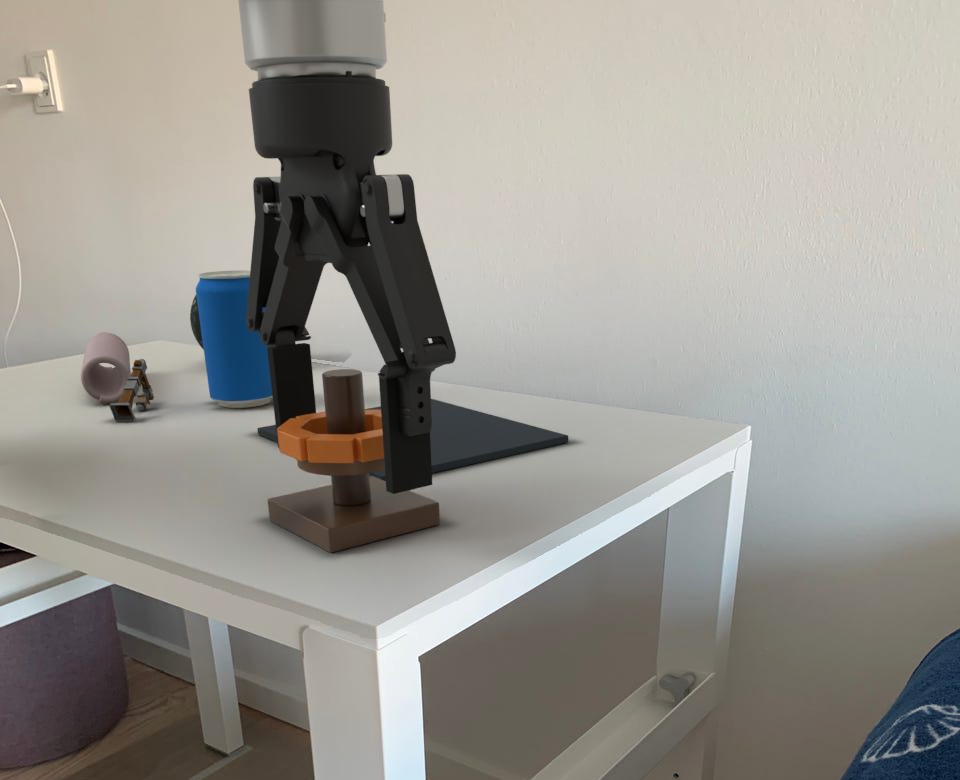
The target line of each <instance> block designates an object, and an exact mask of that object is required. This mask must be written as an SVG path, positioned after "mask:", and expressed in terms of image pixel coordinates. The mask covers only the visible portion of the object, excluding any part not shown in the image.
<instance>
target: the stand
mask: <svg viewBox="0 0 960 780" xmlns="http://www.w3.org/2000/svg"><path fill="white" fill-rule="evenodd" d="M321 376H322V377H321V378H322V389H323V402H324V412H325V413H326V425H327V434H358V433H363V432H366V420H365V409H366V407H365V393H364V380H363V372H362V371H361V370H359V369H353V368H340V369H339V368H338V369H331V370H326V371H324V372H322V374H321ZM296 464H297V467H298V468H299V469H300V470H301V471H303V472H306V473H309V474H313V475H318V476H319V475H320V476H330V481H331V484H328V485H324V486H320V487H315V488H311V489H306V490H301V491H298V492H293V493H288V494H283V495H279V496H274V497H269V498H267V509H268V517H269V521H270V522H271V523H273V524H276V525H277V526H279V527H281V528H283V529H285V530H287V531H289V532H290V533H293V534H295V535H297V536H298V537H300V538H301V539H304V540H306V541H308V542H309V543H311V544H314V545H315V546H318V547H319V548H321V549H323V550H325V551H327V552H328V553H330V554H331V553H335V552H339V551H343V550H347V549H351V548H354V547H358V546H361V545H362V546H363V545H366V544H370V543H373V542H377V541H382V540H385V539H388V538H392V537H397V536H400V535H404V534H408V533H412V532H415V531H419V530H423V529H428V528H431V527H435V526H439V525H440V524H441V519H440V515H441V514H440V502H439V501H436V500H434V499H431V498H429V497H426V496H424V495H421V494H419V493H416V492H414V491H412V490H408V491H404V492H400V493H396V494H392V493H390V492H387V491H386V481H384V480H381V479H378V478H376V477H373V476H369V473H374V472H379V471H383V470H385V462H384V458H383V459H378V460H373V461H368V462H364V463H363V462H360V461H357V460H356V461H355V462H354V463H309V461H308V460H307V461H299V460H297V459H296Z"/></svg>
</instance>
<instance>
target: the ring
mask: <svg viewBox="0 0 960 780" xmlns="http://www.w3.org/2000/svg"><path fill="white" fill-rule="evenodd" d="M365 420H366V432H363V433H358V434H327V425H326V413H325V411H319V412H316V413H313V414H307V415H301V416H296V418H290V419H289V420H288V421H286V422H285V423H284V424H282V425H281V426H280V427H278V428H277V434H278V442H277V444H278V443H279V448H278V450H279V453H280V454H282V455H285V456H288V457H290V458H292V459H294V460H296V461H297V460H299V461H307V460H308V461H309V463H354V462H355V461H356V460H357V461H360V462H363V463H364V462H368V461H373V460H378V459H383V458H384V447H383V431H382V416H381V410H365Z"/></svg>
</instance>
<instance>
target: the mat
mask: <svg viewBox="0 0 960 780" xmlns="http://www.w3.org/2000/svg"><path fill="white" fill-rule="evenodd" d="M365 410H381V405H379V406H374V407H369V408H365ZM431 414H432V426H431V431H430V443H431V465H432V474H435V473H439V472H443V471H447V470H452V469H455V468H456V469H457V468H461V467H466V466H470V465H474V464H479V463H482V462H488V461H492V460H496V459H500V458H505V457H510V456H514V455H517V454H523V453H528V452H533V451H536V450H541V449H545V448H549V447H554V446H559V445H562V444H567V443H569V435H568V434H565V433H561V432H557V431H553V430H550V429H546V428H542V427H538V426H534V425H531V424H527V423H523V422H520V421H516V420H512V419H509V418H505V417H501V416H498V415H493V414H491V413H488V412H487V413H486V412H483V411H479V410H475V409H471V408H468V407H464V406H460V405H456V404H453V403H449V402H445V401H441V400H437V399H434V398H431ZM256 429H257V435H259V436H261V437H264V438H266V439H269V440H271V441H274V442H276V443H278V441H277V432H276V424H272V425H266V426H261V427H257V428H256ZM369 476H373V477H376V478H378V479H381V480H384V481H386V477H385V470H383V471H379V472H374V473H369Z"/></svg>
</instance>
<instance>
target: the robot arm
mask: <svg viewBox="0 0 960 780" xmlns="http://www.w3.org/2000/svg"><path fill="white" fill-rule="evenodd" d="M384 9H385V7H384V0H238V10H239V17H240V18H239V19H240V30H241V37H242V46H243V47H242V48H243V55H244V56H243V57H244V64H245V65H246V66H247V67H248V68H249V69H250V70H251V71H255V72H257V80H256V81H253V82H252V83H251V88H248V96H249V106H250V114H251V115H250V116H251V124H252V132H253V141H254V143H253V144H254V149H255V152H256V153H257V154H258V155H259V156H260V157H262V158H264V159H272V160H275V159H278V161H279V163H280V176H258V177H257V176H256V177H254V179H253V184H252V189H253V203H254V218H255V219H254V224H253V225H254V227H253V238H252V247H251V260H250V270H249V271H250V281H249V292H248V303H247V314H246V325H247V327H248V329H249V331H250V332H256V331H258V332H259V333H260V338H261V341H262V343H263V344H264V345H268V348H267V351H268V360H269V369H270V378H271V387H272V396H273V397H272V405H273V413H274V422H275V425H276V432H277V428H278V427H280V426H281V425H282V424H284V423H285V422H286V421H288V420H289V419H290V418H296V416H301V415H307V414H313V413H317V406H316V405H317V404H316V396H315V394H316V393H315V383H314V373H313V363H312V353H311V344H310V343H306V342H304V341H309V340H311V339H312V336H311V335H310V333H309V331H308V328H307V327H306V324H307V321H308V319H309V315H310V311H311V308H312V305H313V302H314V299H315V297H316V292H317V290H318V286H319V284H320V280H321V277H322V273H323V270H324V267H325V266H326V265H328V264H331V265H332V267H333V268H334V270H335V271H336V272H337V273H340V274H342V275H344V276H345V278H346V280H347V282H348V285H349V287H350V288H351V289H350V290H351V291H352V293H353V295H354V299H355V300H356V302H357V304H358V307H359V309H360V311H361V313H362V315H363V318H364V319H365V322H366V324H367V327H368V329H369V331H370V333H371V335H372V337H373V339H374V342H375V344H376V346H377V348H378V350H379V353H380V355H381V358H382V359H383V362H384V363H385V364H383V366H382V367H381V368H380V369H379V372H378V373H377V376H378V382H379V383H378V384H379V401H380V406H381V416H382V431H383V447H384V462H385V477H386V491H387V492H390V493H392V494H396V493H400V492H404V491H408V490H409V491H413V490H416V489H420V488H421V489H422V488H425V487H429V486H433V473H432V465H431V443H430V431H431V426H432V414H431V399H432V393H431V377H432V373H433V372H435V370H436V369H438V368H440V367H443V366H444V365H451V364H453V363H454V362H455V361H456V358H457V351H456V346H455V344H454V343H455V342H454V340H453V336H452V334H451V333H452V332H451V330H450V326H449V323H448V320H447V316H446V313H445V309H444V306H443V302H442V299H441V296H440V292H439V289H438V285H437V282H436V279H435V275H434V272H433V269H432V265H431V262H430V259H429V255H428V251H427V248H426V244H425V242H424V238H423V234H422V231H421V227H420V225H419V221H418V213H417V202H416V193H415V183H414V179H413V177H412V176H411V175H410V174H408V173H400V174H399V173H398V174H396V173H395V174H377V172H376V166H375V158H376V157H383V156H386V155H388V154H389V153H390V152H391V150H392V148H393V131H392V130H393V129H392V111H391V94H390V93H391V92H390V86H389V85H386V81H385V80H384V79H381V78H377V70H380V69H382V68H384V66H385V65H386V64H387V62H388V55H387V41H386V24H385V23H386V12H385V10H384ZM263 307H266V309H265V311H263V312H262V310H263ZM429 339H431V342H430V340H429ZM297 342H301V343H297ZM277 441H278V434H277ZM277 448H278V449H279V443H278V442H277Z"/></svg>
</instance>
